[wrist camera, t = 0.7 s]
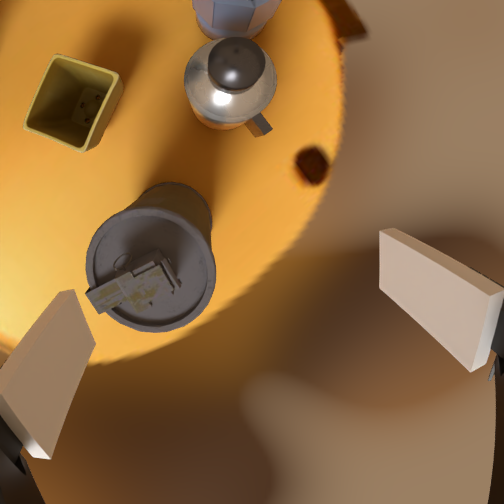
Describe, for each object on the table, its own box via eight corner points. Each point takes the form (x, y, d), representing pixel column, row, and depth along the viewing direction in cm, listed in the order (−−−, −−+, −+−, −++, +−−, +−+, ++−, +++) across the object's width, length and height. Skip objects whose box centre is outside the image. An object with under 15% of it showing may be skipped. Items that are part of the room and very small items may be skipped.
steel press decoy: (177, 94, 35) (156, 55, 18) (229, 57, 34) (247, -4, 18) (227, 155, 38) (243, 160, 22) (278, 117, 37) (331, 97, 21)
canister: (189, 167, 38) (172, 185, 19) (225, 240, 42) (242, 318, 23) (114, 207, 38) (44, 259, 19) (152, 276, 42) (120, 370, 23)
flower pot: (138, 89, 34) (120, 73, 25) (109, 152, 36) (83, 154, 27) (82, 69, 32) (54, 52, 23) (55, 130, 34) (20, 128, 25)
